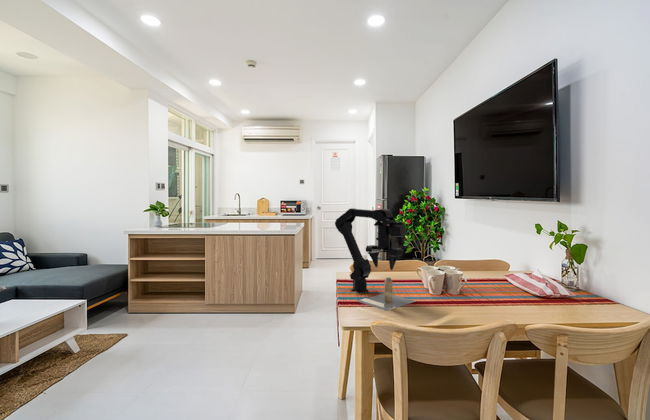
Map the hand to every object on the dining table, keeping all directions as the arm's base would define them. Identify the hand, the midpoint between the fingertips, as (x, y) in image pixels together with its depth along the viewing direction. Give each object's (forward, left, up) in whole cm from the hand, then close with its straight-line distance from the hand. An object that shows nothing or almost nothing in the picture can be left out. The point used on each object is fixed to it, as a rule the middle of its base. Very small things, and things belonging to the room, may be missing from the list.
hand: (383, 268), depth 157 cm
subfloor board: (+9, -9, -13) cm, 18 cm away
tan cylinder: (+15, -15, -12) cm, 24 cm away
